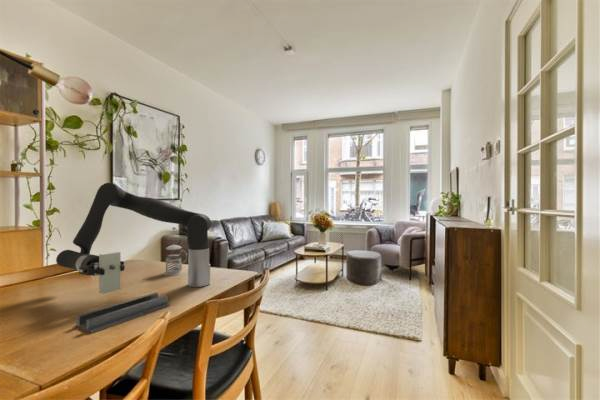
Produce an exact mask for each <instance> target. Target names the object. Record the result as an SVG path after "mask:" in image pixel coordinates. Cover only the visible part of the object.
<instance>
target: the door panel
mask: <svg viewBox="0 0 600 400" xmlns="http://www.w3.org/2000/svg"><path fill="white" fill-rule="evenodd" d="M98 256H99V268H103V269H105V274H104V275H98V278H99V279H98V281H99V282H98V283H99V284H98V285H99V286H98V292H99V294H101V295H103V294H108V293H112V292H115V291H120V290H121V271H120V261H121V252H120V251H111V252H106V253H99V255H98Z"/></svg>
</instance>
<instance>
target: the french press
mask: <svg viewBox="0 0 600 400" xmlns="http://www.w3.org/2000/svg"><path fill="white" fill-rule="evenodd" d="M172 230H173V231H176V230H177V228H176V227H175V226H173V227H172ZM182 248H183V247H182V246H180V245H178V244H171V245H169V246H167V247H165V250H168V251H179V250H180V253H172V254H171V253H170V254H167V255H166V258H165V272H163V275H164V276H178V275H181V274H183V273H184V271H183V270H182V269H183V267H182V265H183V264H185V262H186V261H187V259H188V253H187V251H185V250H184V249H182ZM183 252H184V253H185V255H186V257H185V260H184V261H183V262H182V257H181V253H183Z"/></svg>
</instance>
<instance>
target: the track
mask: <svg viewBox="0 0 600 400" xmlns="http://www.w3.org/2000/svg"><path fill="white" fill-rule="evenodd" d="M168 300H169V295H161V296H159V292H152V293H149V294H146V295H143V296H142V295H141V296H139V297H136V298H133V299H132V298H131V299H129V300H126V301H122V302H118V303H116V304H112V305H111V304H110V305H109V306H106V307H101V308H98V309H95V310H92V311H87V312H85V313H82V314H78V315H77V318H76V319H77V321H76V322H75V327H76V328H78V329H81V330H83V331H85V332H87V333H89V334H94V333H96V332H100V331H103V330H105V329H108V328H111V327H113V326H116V325H119V324H123V323H125V322H128V321H130V320H134V319H136V318H139V317H142V316H145V315H148V314H150V313H153V312H156V311H159V310H162V309H165V308H167V307H170V305H171V304H170V302H169V301H168Z"/></svg>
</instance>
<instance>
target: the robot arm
mask: <svg viewBox="0 0 600 400" xmlns="http://www.w3.org/2000/svg"><path fill="white" fill-rule="evenodd" d="M109 206H112V207H116V208H121V209H124V210H130V211H132V212H134V213H137V214H139V215H141V216H144V217H146V218H149V219H152V220H155V221H158V222H162V223H163V222H165V223H169V224H175V225H176V224H177V225H180V226H184V227H186V238H187V244H188V254H187V259H188V261H187V263H188V268H187V271H188V273H187V274H188V275H187V286H188V287H190V288H201V287H206V286H208V285H211V263H210V242H209V240H208V239H209V237H208V235H209V234H208V231H209V230H210V229H211V226H212V221H211V219H210V217H209V216H207V215H206V214H203V213H198V212H193V211H190V210H186V209H184V208H181V207H178V206H176V205H174V204H172V203H168V202H166V201H163V200H159V199H157V198H154V197H153V198H152V197H145V196H140V195H139V196H138V195H135V194H133V193H130V192H129V191H126V190H124V189H123V188H121V187H120V186H119V185H117V184H116V183H114V182H105V183H103V184H102V185H100V186H99V188H98V189H97V191H96V193H95V196H94V198H93V201H92V203H91V205H90V208H89V211H88V213H87V215H86V217H85V220H84V221H83V224H82V225H81V226H80V229H79V230H78V232H77V234H76V235H75V237H74V238H73V240H72V243H73V244H74V245H75V246H77V247H79V249H80V252H79V251H76V250H75V251H74V250H72V249H64V250H62V251H60V252H59V253H58V254H57V256H56V259H55V261H56V264H57V265H58V266H59V267H61V268H67V269H71V270H75V271H77V272H78V275H83V276H92V277H93V276H99V275H104V274H105V269H103V268H99V255H98V254H97V255H96V254H93V253H92V254H90V253H91V249H92V247H93V245H94V242H95V241H96V239H97V237H98V236H99V233H100V231H101V229H102V226H103V221H104V217H105V215H106V211H107V210H108V209H109ZM125 266H126V265H125V262H124V261H123V260H120V272H124V271H125Z"/></svg>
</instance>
